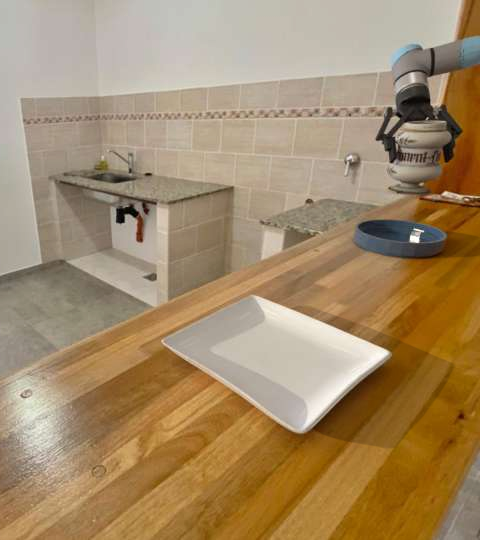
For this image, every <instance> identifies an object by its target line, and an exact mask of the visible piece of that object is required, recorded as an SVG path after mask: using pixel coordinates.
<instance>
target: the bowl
mask: <svg viewBox="0 0 480 540" xmlns="http://www.w3.org/2000/svg"><path fill="white" fill-rule="evenodd" d="M447 238H448V235H447V233H446V232H445V231H443V230H442V229H439V228H438V227H435V226H432V225H429V224H425V223H421V222H417V221H410V220H402V219H390V218H388V219H387V218H380V219H379V218H378V219H376V218H375V219H367V220H363V221H359V222H357V223H356V224H355V227H354V231H353V235H352V239H353V241H354V242H355V243H356V244H357V246H359V247H361V248H363V249H364V250H367V251H369V252H371V253H372V252H373V253H375V254H378V255H383V256H387V257H388V256H389V257H395V258H405V259H406V258H407V259H410V258H411V259H419V258H421V259H422V258H429V257H433V256H435V255H438V254H440V253H442V252H443V250H444V248H445V245H446V241H447Z"/></svg>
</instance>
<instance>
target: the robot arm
mask: <svg viewBox="0 0 480 540" xmlns="http://www.w3.org/2000/svg"><path fill="white" fill-rule="evenodd" d="M390 62H391V63H390V65H391V71H390V72H391V76H392V77H391V78H392V83H393V93H394V99H395V107H396V108H395V109H394V108H393V107H391V106H388V107H387V108H386V110H385V112H384V114H383V121H382V123H381V125H380V127H379V130H378V131H377V134H376V136H375V139H374V140H375V142H380V141H381V145H383V148H384V151H385V152H388V160H389V164H392V163H394V161H395V160H396V158H397V149H398V148H397V143H396V141H395V136H394V135H396V133H397V132H399V130H400V129H401V128H402V126H403V125H404V124H406V123H407V122H413V121H446V122H447V125H446V130H447V131H448V132H450V134H451V137H452V138H451V140H450V142H449V143H447V144H446V145H444V146H443V148H442V154H443V162H444V163H445V164H446V163H447V164H448V163H449V162H451V160H452V159H453V158H455V154H454V153H455V152H454V149H455V147H456V146H457V144H456V140H457V139H458V138H460V136H461V134H462V133H463V132H464V130H463V129H462V128H461V126H460V125H459V124H458V123H457V121H456V120H455V119H454V118H453V116H452V115H451V114H450V112H448V109H447V105H446V104H441V105H440V106H436V107H434V106H433V105H432V104H431V101H432V99H431V93H430V86H429V85H430V84H429V81H428V78H431V77H435V76H440V75H445V74H448V73H453V72H457V71H461V70H462V71H463V70H466V69H470V68H472V67H476V66H478V65H480V35H476V36H470V37H465V38H462V39H458V40H455V41H451V42H447V43H444V44H441V45H437V46H434V47H428V48H425V49H424V48H423V47H422V46H421V44H418V43H415V44H414V43H410V44H409V43H408V44H405V45H404V46H402V47H400V48H399V49H397V51H395V53H394V54H393V55H392V57H391V61H390ZM394 116H396V117H397V118H398V119H399V120H398V121H397V122H396V123H395V124H394V125H393V126H392V127H391V128H390V130H389V131H388V132H387V133H385V132H386V130H387V128H388V125H389V123H390V122H391V119H392V118H394Z"/></svg>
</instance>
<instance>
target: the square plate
mask: <svg viewBox="0 0 480 540" xmlns="http://www.w3.org/2000/svg"><path fill="white" fill-rule="evenodd" d="M161 343H162V344H163V345H164V346H165V347H167V348H168V349H169V350H170V351H172V352H173V353H174V354H176V355H177V356H178V357H180V358H181V359H183V360H185V361H186V362H187V363H189V364H191V365H192V366H194V367H195V368H197V369H199V370H201V371H202V372H204V373H205V374H207V375H208V376H210V377H211V378H213V379H215V380H216V381H217V382H219V383H220V384H223V386H225V387H226V388H228V389H230V390H231V391H232V392H234V393H236V394H237V395H238V396H240V397H241V398H243V399H244V400H245V401H247V403H249V404H251V405H253V406H254V407H255V408H257V410H259V411H260V412H261V413H263V414H265V416H267V417H269V418H270V419H271V420H273V421H275V422H276V423H277V424H279V425H280V426H282V427H284V428H285V429H287V430H289V431H291V432H293V433H295V434H299V435H305V434H307V433H308V432H310V431H311V430H312V429H313V428H314V427H315V426H316V425H317V424H319V423H320V421H321V420H322V419H324V417H326V415H327V414H328V413H329V412H330V411H331V410H332V409H333V408H334V407H335V406H336V405H337V404H338V403H339V402H340V401H341V400H342V399H343V398H344V397H345V396H346V395H348V394H349V392H350V391H352V390H353V389H354V388H355V387H356V386H357V385H358V384H360V383H361V382H362V381H363V380H365V379H366V378H367V377H368V376H370V375H371V374H372V373H374V372H375V371H376V370H377V369H379V368H380V367H382V366H383V365H384V364H385V363H386V362H387V361H389V360H390V359H391V357H393V353H392V352H391V350H388V349H386V348H384V347H382V346H379V345H376V344H375V343H372V342H370V341H367V340H366V339H363V338H360V337H358V336H356V335H353V334H351V333H349V332H346V331H344V330H342V329H339V328H337V327H335V326H333V325H331V324H328V323H326V322H324V321H321V320H319V319H317V318H314V317H312V316H309V315H306V314H305V313H302V312H299V311H298V310H295V309H292V308H290V307H287V306H284V305H283V304H279V303H276V302H274V301H273V300H272V301H271V300H269V299H267V298H264V297H261V296H259V295H257V294H256V295H255V294H250V295H248V296H245V297H244V298H242V299H240V300H238V301H236V302H234V303H231V304H229V305H228V306H225V307H223V308H222V309H220V310H217V311H215V312H213V313H211V314H209V315H207V316H205V317H204V318H201V319H199V320H198V321H197V320H196V321H195V322H193V323H191V324H189V325H188V326H185V327H184V328H181V329H180V330H178V331H176V332H174V333H172V334H170V335H168V336H166V337H164V338H163V339H161Z"/></svg>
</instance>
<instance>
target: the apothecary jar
mask: <svg viewBox="0 0 480 540" xmlns="http://www.w3.org/2000/svg"><path fill="white" fill-rule="evenodd" d="M446 125H447V122H446V121H413V122H407V123H405V125H404V127H403V129H402V130H401V131H398V133H397V134H395V136H394V137H395V141H396V145H397V148H396V149H397V158H396V160H395V161H394V163H389V165H388V166H387V168H386V173H387V175H388V176H389V177H390V178H391V179H393V180H395V181H398V182H400V183H399V184H398V183H397V184H394V185H390V186H388V187H387V188H386V190H387V192H389V193H392V194H396V195H404V196H415V197H417V196H421V197H422V196H428V195H430V194H431V193H432V192H431V189H429V188H427V187H425V186H423V185H420V184H423V183H428V182H432V181H434V180H437V179H438V178H440V177H441V175H442V174H443V170H444V169H443V167H442V165H441V164H440V160H441V157H442V153H443V149H442V148H443V146H444V145H446V144H447V143H449V142H450V140H451V138H452V137H451V134H450V132H448V131H447V130H446Z"/></svg>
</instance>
